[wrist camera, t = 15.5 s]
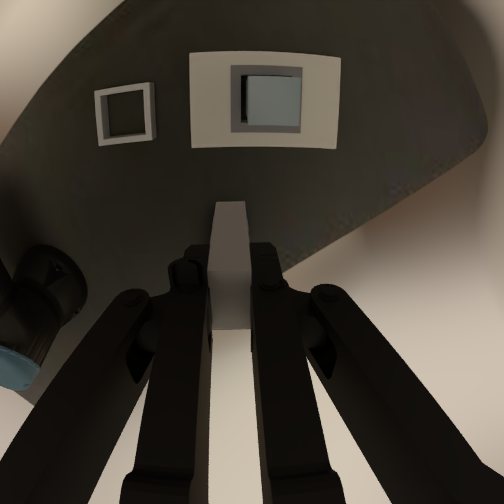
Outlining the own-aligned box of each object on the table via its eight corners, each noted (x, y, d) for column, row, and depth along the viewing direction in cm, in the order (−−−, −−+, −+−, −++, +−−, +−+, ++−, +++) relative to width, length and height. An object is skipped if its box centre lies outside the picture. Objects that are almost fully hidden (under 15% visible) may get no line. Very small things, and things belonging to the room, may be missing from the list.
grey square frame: (105, 142, 38) (98, 146, 36) (101, 90, 34) (94, 91, 32) (156, 137, 39) (152, 140, 36) (154, 82, 35) (149, 82, 33)
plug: (244, 115, 38) (248, 125, 28) (244, 79, 36) (248, 75, 25) (281, 115, 38) (299, 126, 28) (281, 80, 36) (300, 77, 25)
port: (195, 143, 39) (191, 148, 36) (193, 56, 33) (189, 52, 30) (328, 143, 40) (336, 149, 37) (332, 59, 34) (341, 57, 31)
